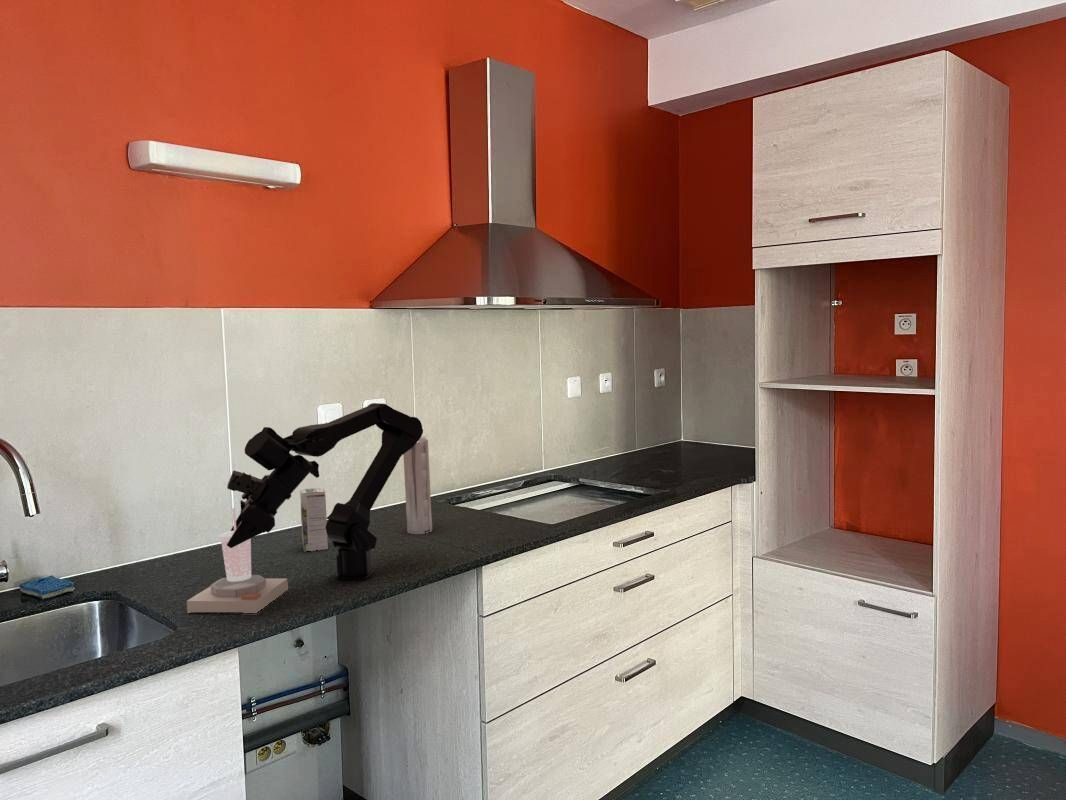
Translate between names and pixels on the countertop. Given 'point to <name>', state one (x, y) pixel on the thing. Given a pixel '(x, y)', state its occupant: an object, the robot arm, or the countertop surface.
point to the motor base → (236, 602)
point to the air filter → (418, 488)
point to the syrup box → (313, 519)
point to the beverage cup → (236, 556)
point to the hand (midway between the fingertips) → (228, 542)
